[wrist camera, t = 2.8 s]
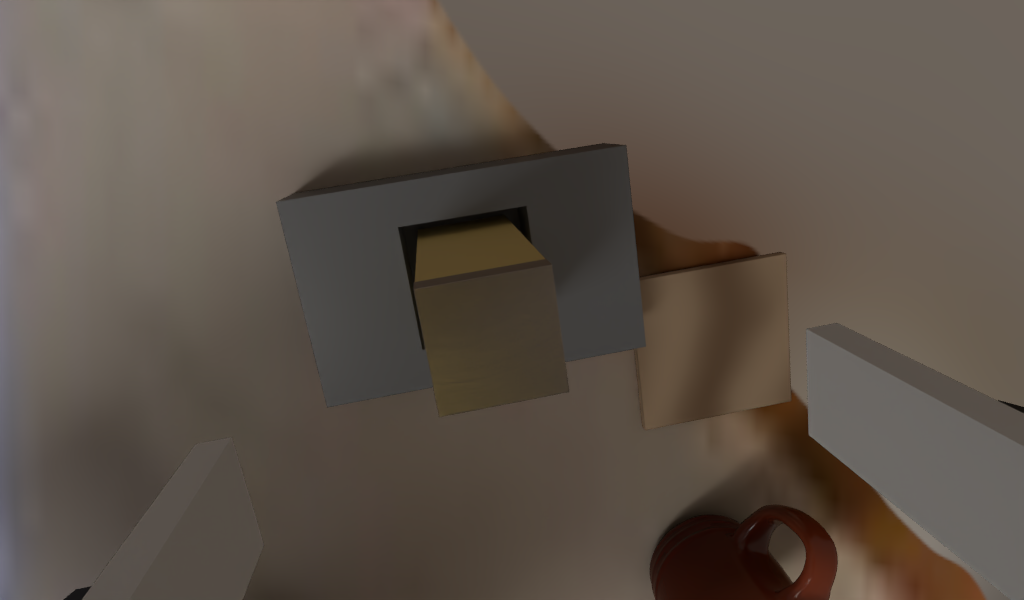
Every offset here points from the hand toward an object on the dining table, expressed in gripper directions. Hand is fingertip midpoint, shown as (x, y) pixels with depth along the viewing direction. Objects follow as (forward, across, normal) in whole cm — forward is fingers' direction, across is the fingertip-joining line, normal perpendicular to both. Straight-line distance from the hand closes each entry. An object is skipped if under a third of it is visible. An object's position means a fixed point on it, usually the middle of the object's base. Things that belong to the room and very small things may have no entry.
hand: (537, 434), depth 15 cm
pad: (+21, +13, -7) cm, 25 cm away
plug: (+20, 0, 0) cm, 20 cm away
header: (+21, 0, 0) cm, 21 cm away
